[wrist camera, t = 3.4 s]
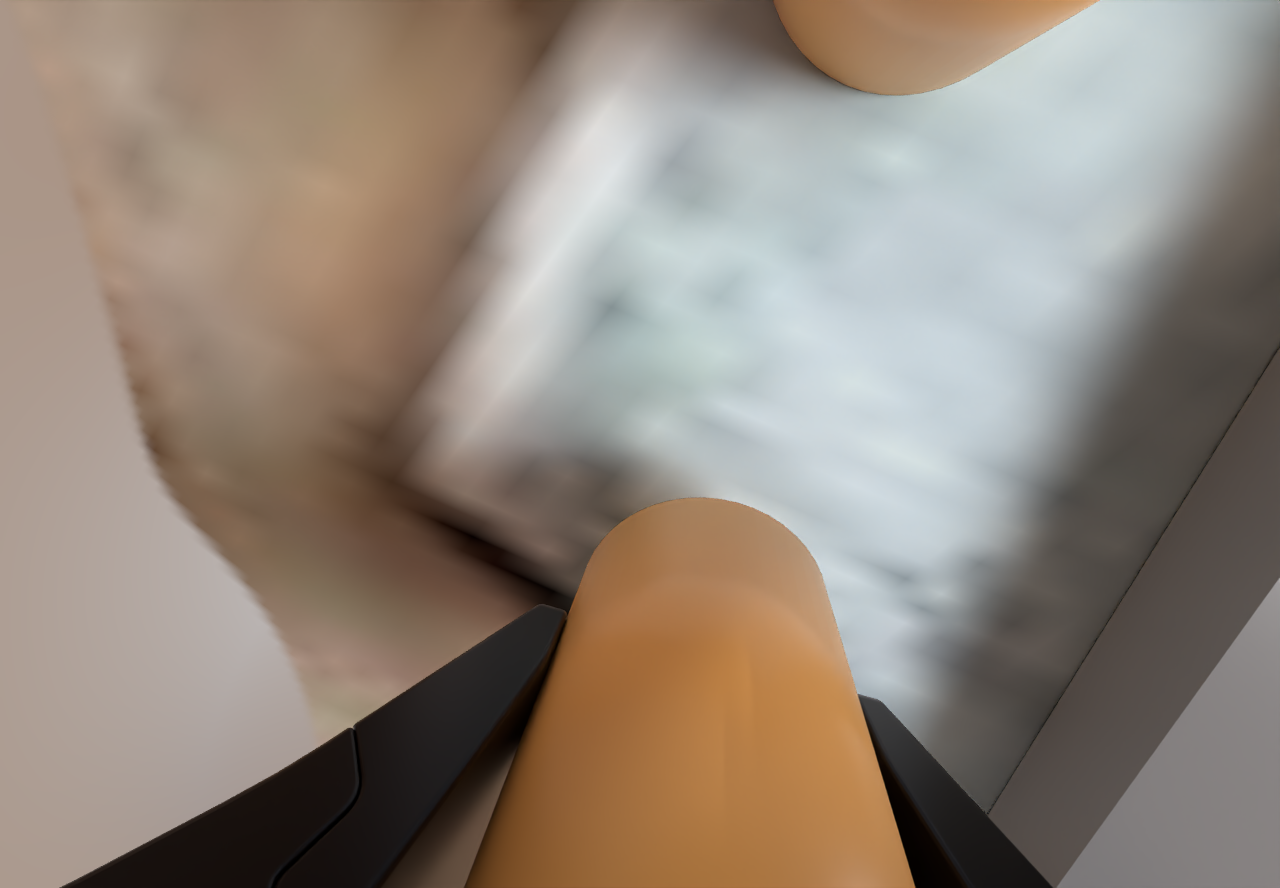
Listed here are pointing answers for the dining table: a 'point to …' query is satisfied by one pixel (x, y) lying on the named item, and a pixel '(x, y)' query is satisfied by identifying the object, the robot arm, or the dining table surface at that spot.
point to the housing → (1175, 700)
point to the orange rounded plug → (915, 37)
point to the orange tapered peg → (696, 724)
